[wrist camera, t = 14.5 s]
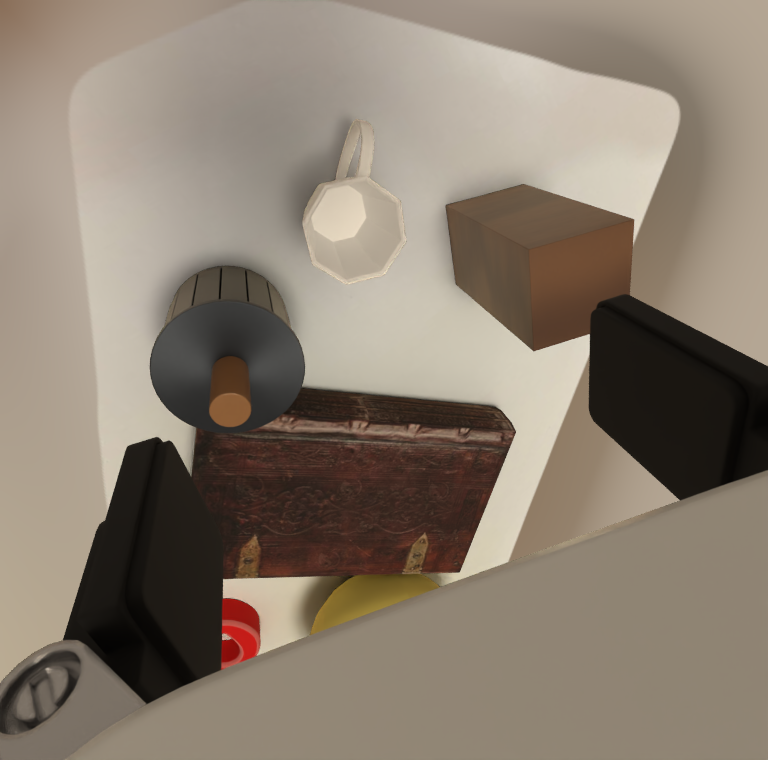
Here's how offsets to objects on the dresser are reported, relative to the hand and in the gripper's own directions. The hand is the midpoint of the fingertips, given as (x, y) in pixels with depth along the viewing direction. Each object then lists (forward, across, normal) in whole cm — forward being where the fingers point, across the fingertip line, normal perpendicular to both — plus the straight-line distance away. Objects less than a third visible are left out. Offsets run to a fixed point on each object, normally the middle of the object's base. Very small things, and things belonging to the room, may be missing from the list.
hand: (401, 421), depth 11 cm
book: (+32, +2, +28) cm, 43 cm away
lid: (+24, +7, +9) cm, 26 cm away
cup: (+32, -4, +1) cm, 33 cm away
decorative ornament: (+32, +21, +44) cm, 59 cm away
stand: (+32, -16, +8) cm, 37 cm away
